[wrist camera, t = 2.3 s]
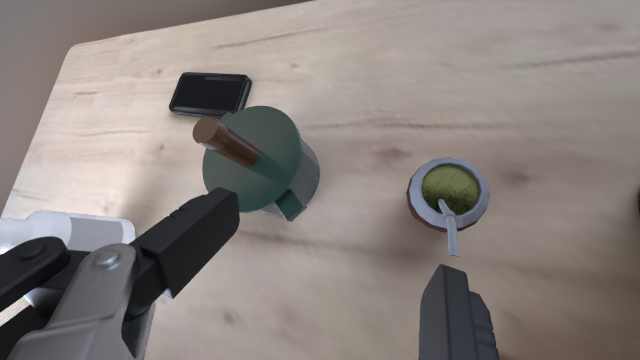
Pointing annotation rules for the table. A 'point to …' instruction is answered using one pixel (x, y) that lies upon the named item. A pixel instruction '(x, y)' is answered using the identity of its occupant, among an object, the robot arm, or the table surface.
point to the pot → (295, 186)
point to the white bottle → (66, 230)
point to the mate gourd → (448, 197)
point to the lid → (251, 155)
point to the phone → (210, 94)
